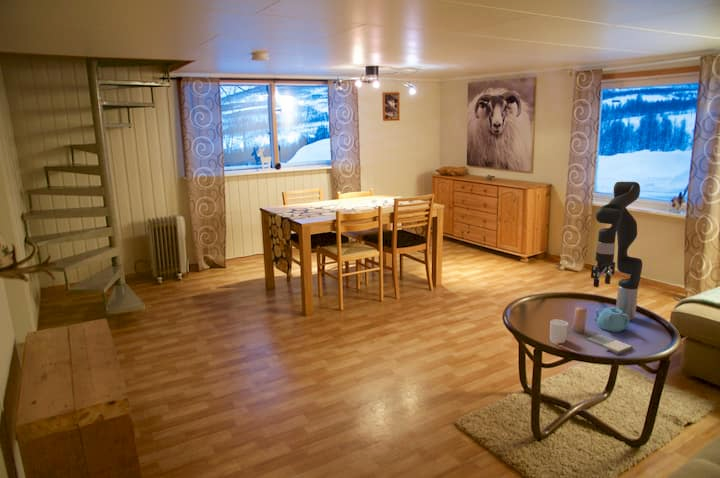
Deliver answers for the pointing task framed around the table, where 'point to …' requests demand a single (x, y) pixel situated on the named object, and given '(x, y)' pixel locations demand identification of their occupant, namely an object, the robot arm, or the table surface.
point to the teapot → (612, 319)
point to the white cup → (558, 331)
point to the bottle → (579, 320)
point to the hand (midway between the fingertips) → (601, 285)
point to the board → (603, 341)
